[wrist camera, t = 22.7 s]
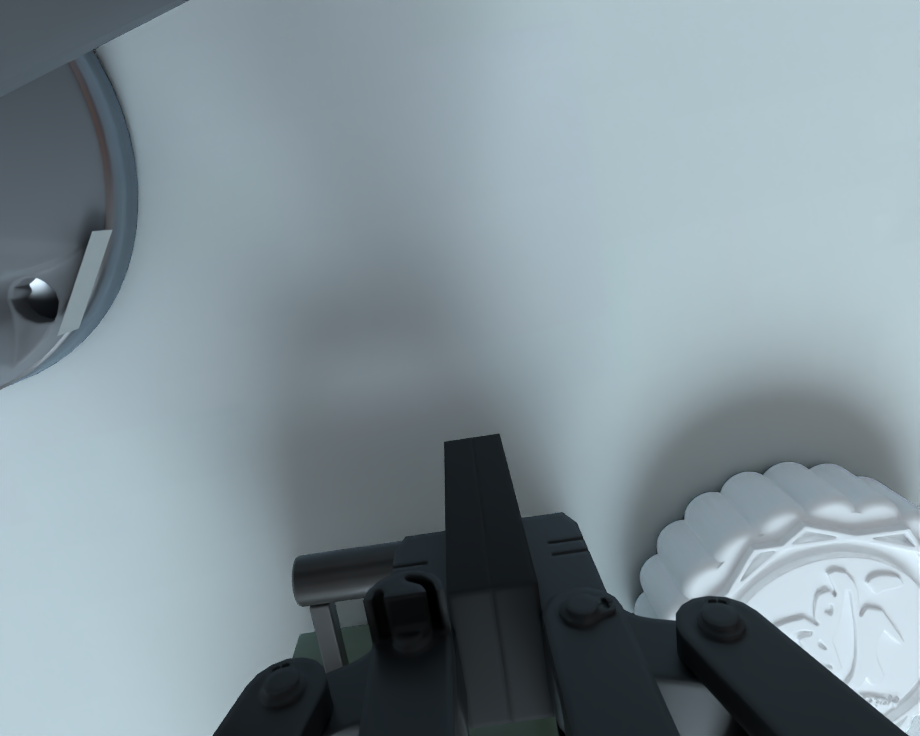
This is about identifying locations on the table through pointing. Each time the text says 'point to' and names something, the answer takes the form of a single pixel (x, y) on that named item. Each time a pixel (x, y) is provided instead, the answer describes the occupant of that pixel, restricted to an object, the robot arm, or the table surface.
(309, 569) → the drawer
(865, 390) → the table surface
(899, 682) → the mooncake
